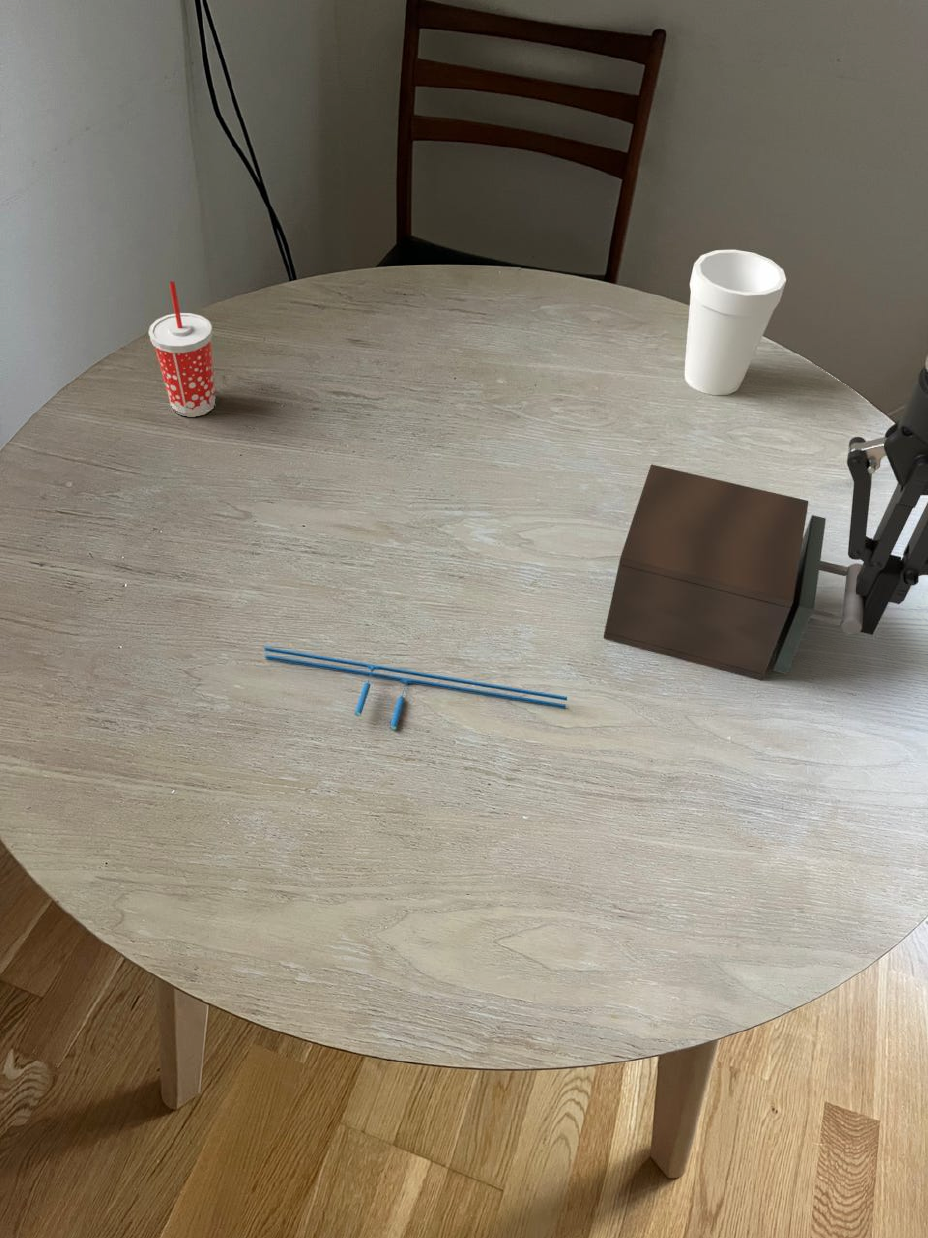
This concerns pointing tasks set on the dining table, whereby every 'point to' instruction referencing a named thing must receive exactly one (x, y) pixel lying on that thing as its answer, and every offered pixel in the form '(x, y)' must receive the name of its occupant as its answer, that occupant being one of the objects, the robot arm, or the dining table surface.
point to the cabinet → (707, 571)
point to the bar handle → (410, 681)
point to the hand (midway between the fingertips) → (864, 621)
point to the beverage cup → (185, 358)
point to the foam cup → (728, 316)
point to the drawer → (807, 593)
